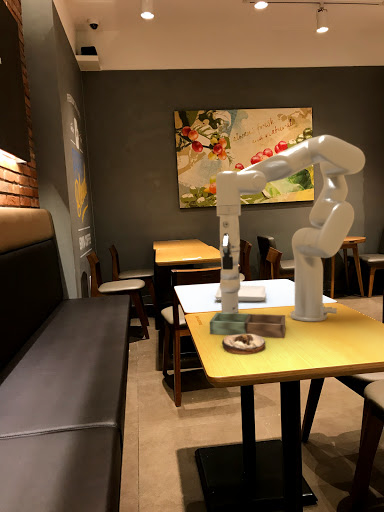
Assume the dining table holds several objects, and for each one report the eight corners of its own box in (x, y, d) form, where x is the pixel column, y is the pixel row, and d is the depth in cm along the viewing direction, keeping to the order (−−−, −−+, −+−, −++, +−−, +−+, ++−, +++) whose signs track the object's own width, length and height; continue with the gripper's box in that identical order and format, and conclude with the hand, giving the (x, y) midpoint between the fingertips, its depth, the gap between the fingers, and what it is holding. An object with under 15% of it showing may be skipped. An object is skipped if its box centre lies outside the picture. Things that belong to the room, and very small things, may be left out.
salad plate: (266, 304, 162) (266, 296, 162) (214, 303, 166) (214, 295, 165) (265, 292, 183) (265, 285, 183) (219, 292, 186) (219, 285, 186)
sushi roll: (217, 339, 122) (216, 326, 122) (266, 338, 121) (266, 325, 121) (218, 358, 108) (217, 343, 107) (273, 357, 107) (273, 342, 106)
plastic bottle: (227, 290, 133) (226, 230, 131) (244, 292, 129) (243, 231, 126) (215, 294, 128) (214, 232, 126) (233, 296, 124) (232, 232, 121)
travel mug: (238, 316, 145) (237, 262, 142) (220, 315, 146) (219, 262, 144) (240, 311, 151) (239, 259, 148) (222, 311, 152) (221, 259, 150)
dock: (285, 326, 131) (285, 315, 130) (283, 337, 120) (283, 325, 120) (216, 323, 137) (216, 312, 136) (209, 333, 126) (209, 321, 126)
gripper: (236, 211, 116) (237, 272, 118) (244, 210, 132) (245, 263, 135) (211, 212, 118) (212, 272, 120) (222, 211, 134) (223, 263, 137)
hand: (229, 267), depth 127 cm, fingers closed on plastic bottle, 6 cm apart
